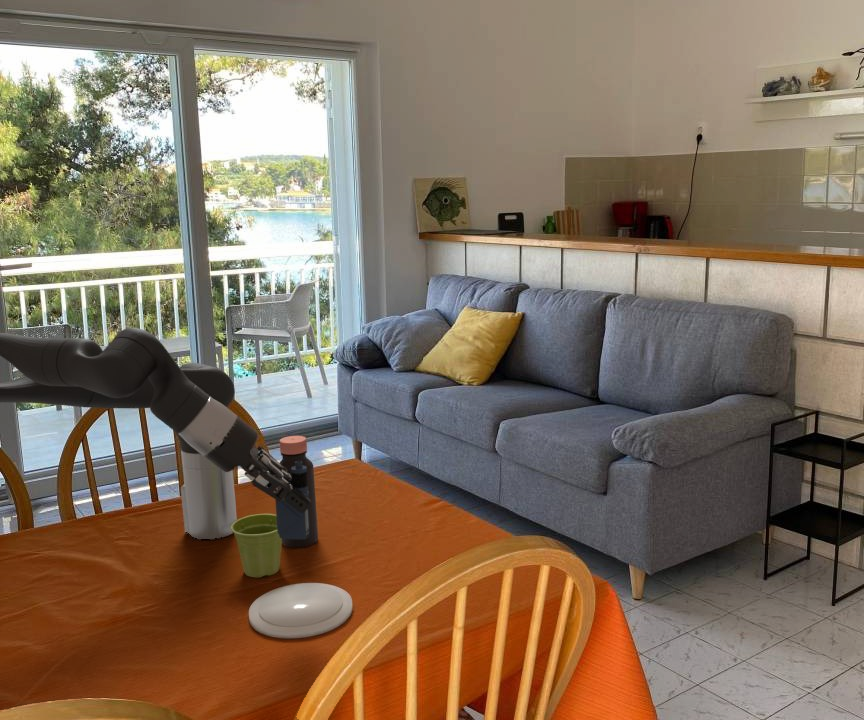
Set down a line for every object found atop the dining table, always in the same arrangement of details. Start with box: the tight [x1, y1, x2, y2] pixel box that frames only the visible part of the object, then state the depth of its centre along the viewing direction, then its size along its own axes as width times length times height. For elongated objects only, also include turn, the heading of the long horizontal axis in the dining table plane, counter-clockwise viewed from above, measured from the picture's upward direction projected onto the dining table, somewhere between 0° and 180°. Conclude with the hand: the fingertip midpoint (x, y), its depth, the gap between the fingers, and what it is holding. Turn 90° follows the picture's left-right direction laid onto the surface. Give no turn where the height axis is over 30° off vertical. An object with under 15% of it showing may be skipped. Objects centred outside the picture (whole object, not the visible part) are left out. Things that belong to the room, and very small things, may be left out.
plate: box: [248, 582, 353, 639], centre depth 134 cm, size 16×16×1 cm
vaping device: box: [274, 461, 310, 540], centre depth 130 cm, size 3×5×12 cm, turn 79°
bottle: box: [278, 435, 319, 549], centre depth 159 cm, size 7×7×20 cm
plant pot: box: [231, 513, 282, 579], centre depth 148 cm, size 9×9×9 cm
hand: (305, 502), depth 131 cm, fingers closed on vaping device, 3 cm apart
